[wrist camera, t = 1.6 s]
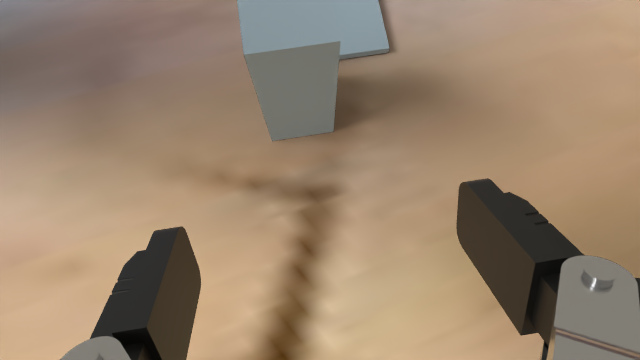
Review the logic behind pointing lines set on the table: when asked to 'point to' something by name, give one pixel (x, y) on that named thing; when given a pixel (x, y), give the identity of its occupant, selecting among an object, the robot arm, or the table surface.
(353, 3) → the swatch tile
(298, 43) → the blue block
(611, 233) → the table surface
